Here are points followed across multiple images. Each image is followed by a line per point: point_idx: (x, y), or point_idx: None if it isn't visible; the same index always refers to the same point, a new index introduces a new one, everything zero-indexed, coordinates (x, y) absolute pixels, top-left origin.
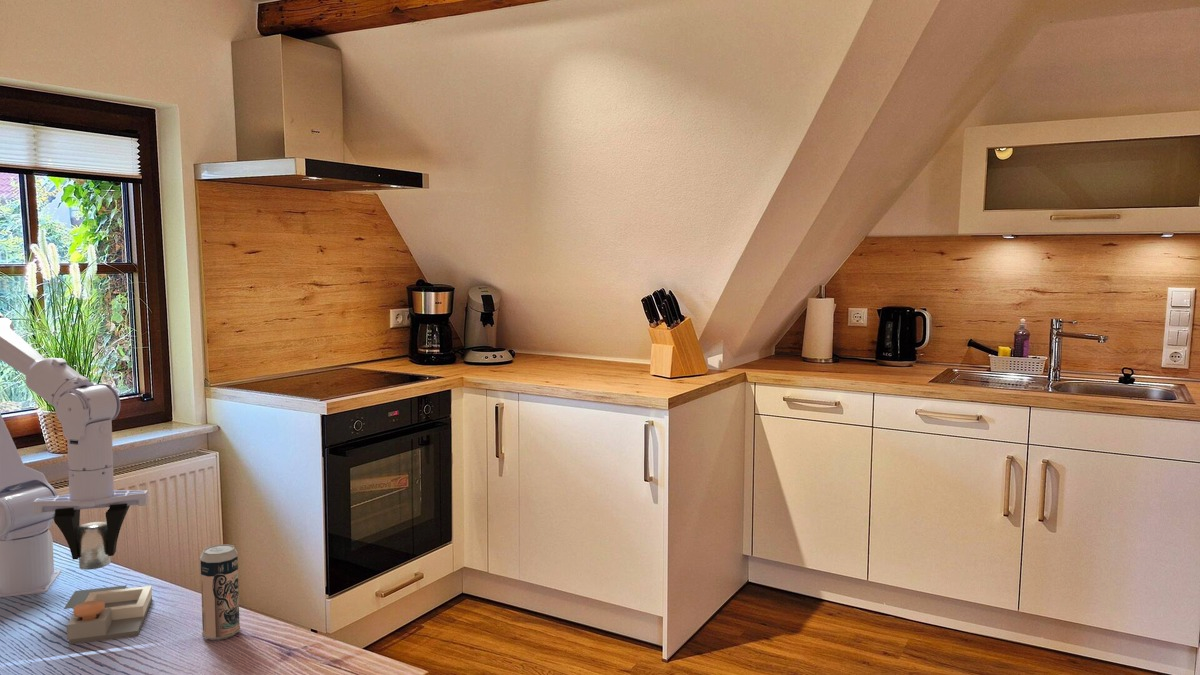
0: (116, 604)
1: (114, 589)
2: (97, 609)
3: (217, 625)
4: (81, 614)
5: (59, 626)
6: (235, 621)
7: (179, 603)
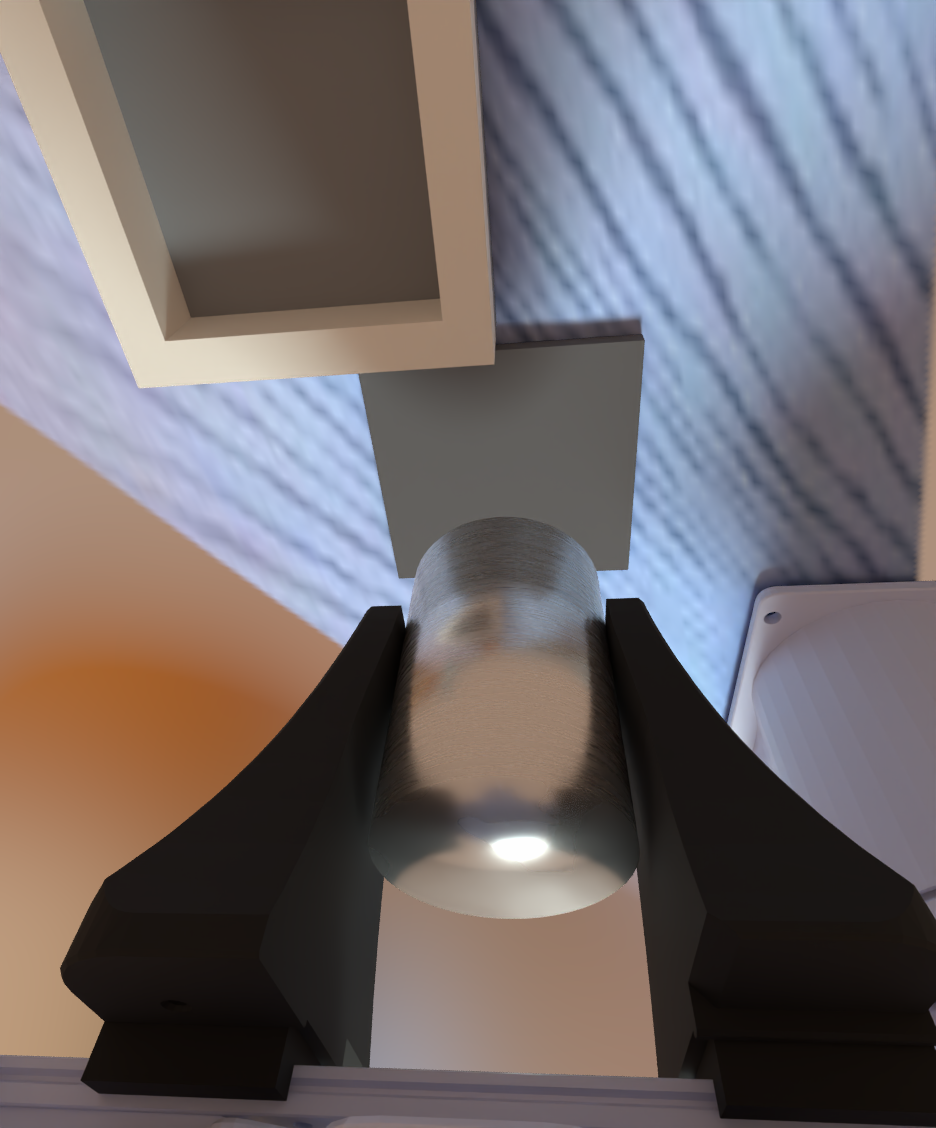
0: (319, 256)
1: None
2: None
3: None
4: None
5: (625, 41)
6: None
7: (3, 283)
